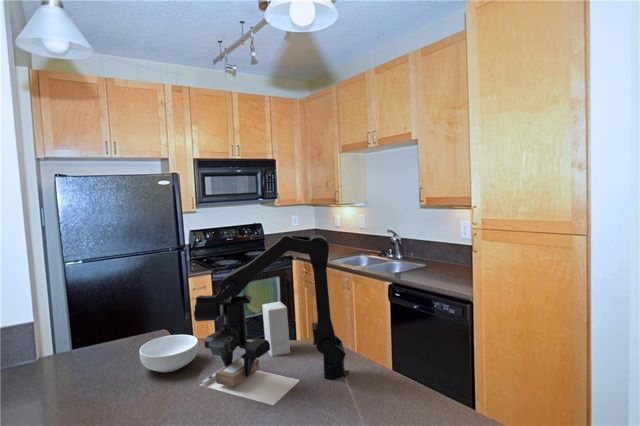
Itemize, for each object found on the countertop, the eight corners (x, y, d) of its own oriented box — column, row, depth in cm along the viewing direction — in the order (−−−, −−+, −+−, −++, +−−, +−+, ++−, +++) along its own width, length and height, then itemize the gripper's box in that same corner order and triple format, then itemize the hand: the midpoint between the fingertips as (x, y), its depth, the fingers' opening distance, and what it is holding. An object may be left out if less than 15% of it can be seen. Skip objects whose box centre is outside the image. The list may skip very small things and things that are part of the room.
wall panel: (231, 366, 115) (231, 358, 115) (300, 382, 104) (299, 374, 104) (200, 387, 104) (199, 378, 103) (273, 408, 93) (272, 398, 92)
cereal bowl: (187, 379, 109) (186, 355, 108) (130, 381, 109) (128, 357, 108) (206, 353, 126) (205, 332, 125) (156, 355, 126) (155, 334, 125)
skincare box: (290, 355, 122) (288, 307, 121) (270, 359, 119) (267, 310, 118) (283, 345, 129) (281, 300, 128) (264, 349, 127) (261, 303, 126)
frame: (242, 365, 112) (241, 355, 112) (259, 368, 109) (258, 358, 109) (216, 383, 102) (215, 372, 102) (233, 387, 99) (233, 376, 99)
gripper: (187, 324, 102) (191, 381, 103) (243, 334, 93) (247, 395, 94) (217, 311, 111) (220, 363, 113) (269, 319, 103) (272, 375, 104)
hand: (238, 373), depth 105 cm, fingers closed on frame, 6 cm apart
